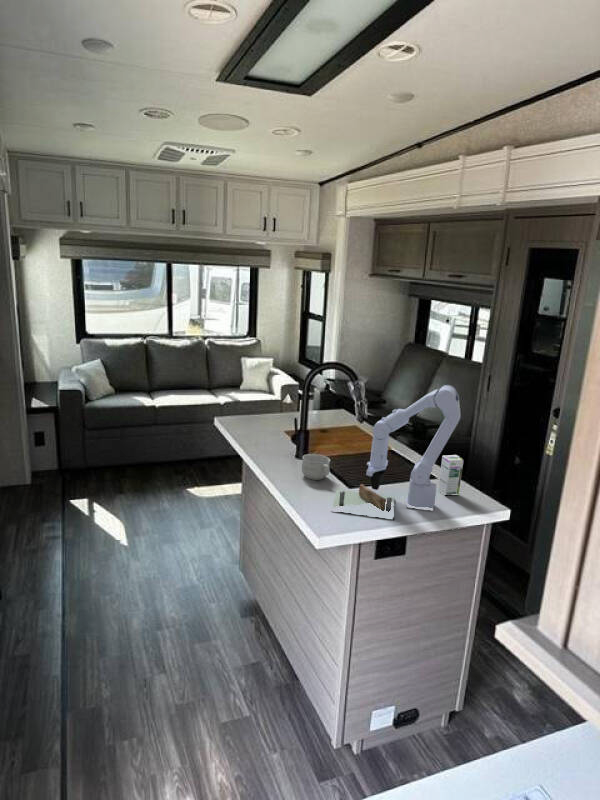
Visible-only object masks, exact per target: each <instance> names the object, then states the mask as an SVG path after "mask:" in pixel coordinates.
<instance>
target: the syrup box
mask: <svg viewBox="0 0 600 800" xmlns="http://www.w3.org/2000/svg"><path fill="white" fill-rule="evenodd" d="M463 465H464V459H463V458H462V457H460V455H457V454H452V455H450V454H449V455H442V457H441V465H440V471H439V480H438V487H437V490H440V491H441V492H442V493H444V494H445V495H452V494H459V495H460V489H461V482H462V481H461V479H462V474H463V473H462V472H463V468H464V467H463ZM442 493H441V494H442Z"/></svg>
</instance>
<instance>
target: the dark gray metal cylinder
mask: <svg viewBox="0 0 600 800" xmlns="http://www.w3.org/2000/svg"><path fill="white" fill-rule="evenodd" d="M344 496H345V492H344V491H340V499H339V506H344ZM390 497H391V496H390ZM390 497H388V498H387V504H386V511H388V512H389V511H390V510H391V502H392V498H390Z"/></svg>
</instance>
